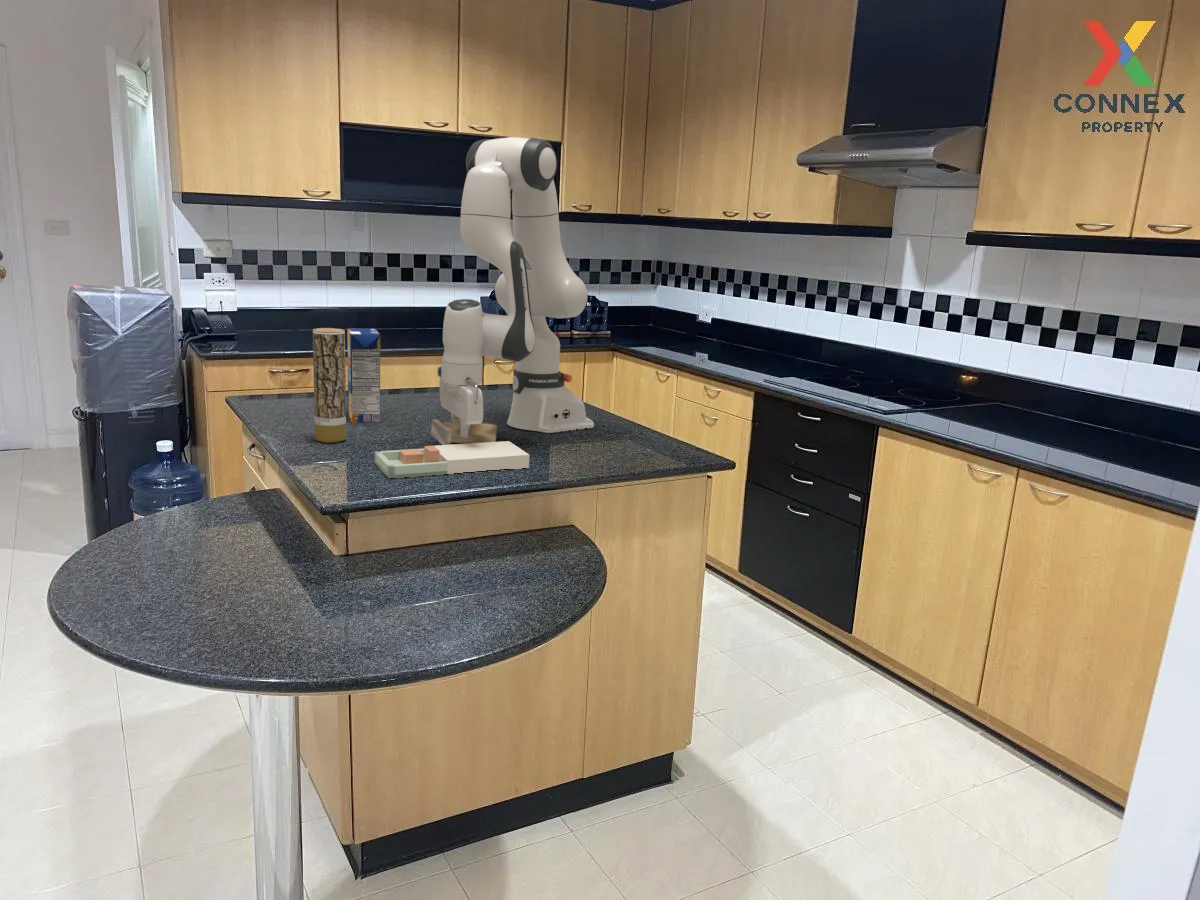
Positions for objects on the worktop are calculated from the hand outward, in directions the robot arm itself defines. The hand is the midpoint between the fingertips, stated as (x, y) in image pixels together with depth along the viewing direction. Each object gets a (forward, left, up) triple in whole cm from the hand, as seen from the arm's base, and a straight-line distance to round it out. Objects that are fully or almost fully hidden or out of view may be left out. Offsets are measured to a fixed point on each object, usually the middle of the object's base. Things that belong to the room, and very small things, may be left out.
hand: (460, 435), depth 200 cm
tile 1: (+14, +9, -1) cm, 17 cm away
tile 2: (+10, +15, -1) cm, 18 cm away
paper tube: (+26, -15, -4) cm, 30 cm away
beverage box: (+14, -35, -4) cm, 38 cm away
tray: (+15, +12, -3) cm, 19 cm away
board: (0, +12, -3) cm, 13 cm away
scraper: (-1, 0, -1) cm, 2 cm away
